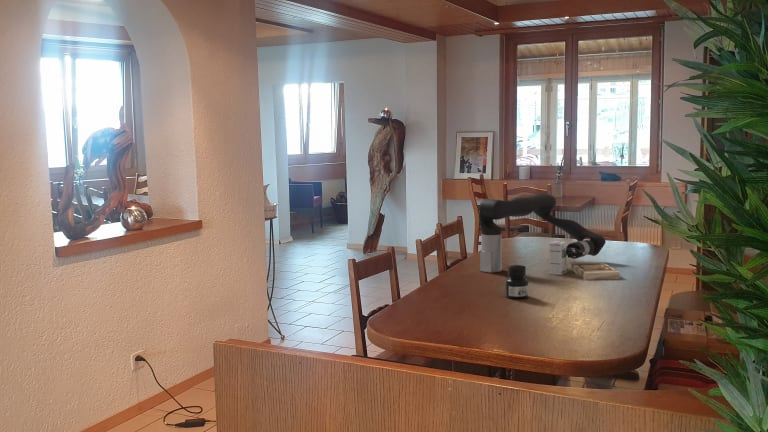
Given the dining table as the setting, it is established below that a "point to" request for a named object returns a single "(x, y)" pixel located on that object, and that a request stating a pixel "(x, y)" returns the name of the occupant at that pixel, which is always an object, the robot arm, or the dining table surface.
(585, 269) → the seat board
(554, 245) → the syrup box
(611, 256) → the dining table surface
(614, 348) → the dining table surface
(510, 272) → the ink bottle
